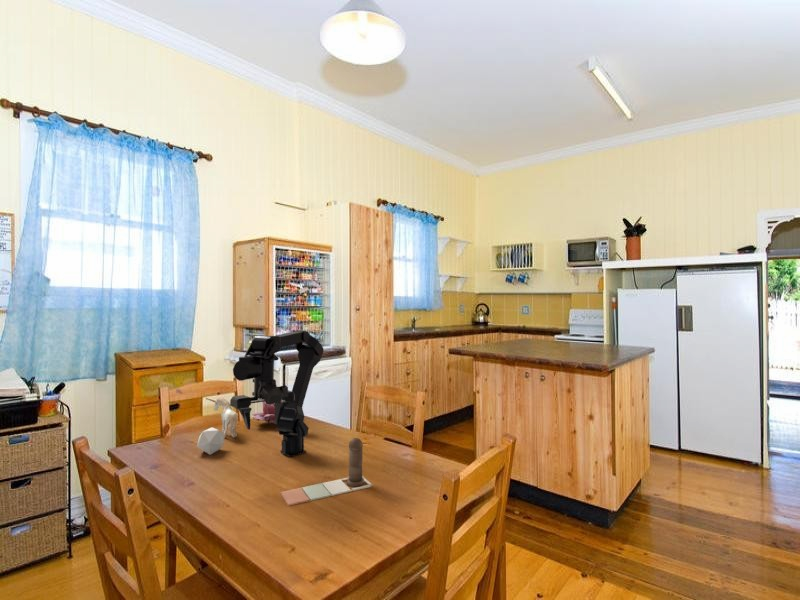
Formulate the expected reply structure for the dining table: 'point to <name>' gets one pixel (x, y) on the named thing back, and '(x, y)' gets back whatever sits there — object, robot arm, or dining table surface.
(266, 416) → the flower
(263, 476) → the dining table surface
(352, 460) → the walnut pawn
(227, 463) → the dining table surface
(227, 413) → the unicorn figurine
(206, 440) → the die
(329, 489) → the strip
